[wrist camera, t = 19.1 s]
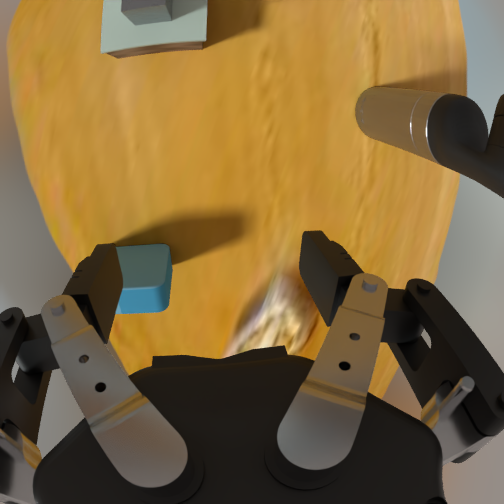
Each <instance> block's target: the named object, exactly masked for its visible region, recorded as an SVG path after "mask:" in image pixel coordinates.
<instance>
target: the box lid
mask: <svg viewBox="0 0 504 504" xmlns="http://www.w3.org/2000/svg"><path fill="white" fill-rule="evenodd" d="M207 1H208V0H173V5H172V21H167V22H159V23H151V24H144V25H137V26H135V25H134V24H133V23H132V22H131V21H130V20H129V19H128V18H127V17H126V16H125V15H124V14H123V13H122V12H121V3H122V0H104V4H103V16H102V31H101V53H102V54H104V53H108V52H113V51H119V50H124V49H130V48H137V47H144V46H151V45H160V44H170V43H182V42H199V41H206V27H207Z"/></svg>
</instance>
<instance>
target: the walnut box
mask: <svg viewBox="0 0 504 504" xmlns="http://www.w3.org/2000/svg"><path fill="white" fill-rule="evenodd" d="M202 46H203V41H199V42H182V43H170V44H160V45H151V46H144V47H137V48H130V49H124V50H119V51H113V52H108V53H107V54H109V55H111V56H114V57H116V58H124V57H130V56H137V55H144V54H151V53H160V52H170V51H183V50H200V49H202Z"/></svg>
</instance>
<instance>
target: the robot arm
mask: <svg viewBox="0 0 504 504" xmlns="http://www.w3.org/2000/svg"><path fill="white" fill-rule="evenodd" d="M356 119H357V123H358V125H359V127H360V129H361V130H362V131H363V132H364V133H365V134H366V135H367V136H368V137H370V138H373V139H375V140H378V141H381V142H384V143H386V144H389V145H392V146H395V147H397V148H400V149H403V150H405V151H408V152H411V153H413V154H416V155H418V156H421V157H423V158H425V159H428V160H430V161H433V162H435V163H437V164H440V165H442V166H444V167H447V168H449V169H451V170H454V171H456V172H458V173H460V174H463V175H465V176H467V177H469V178H471V179H473V180H475V181H477V182H478V183H480V184H482V185H483V186H485V187H487V188H488V189H490V190H491V191H493V192H495V193H496V194H498V195H499V196H501V197H502V198H504V94H503V95H502V96H501V97H500V99H499V101H498V104H497V107H496V110H495V114H494V119H493V123H492V127H491V130H490V134H489V138H488V128H487V123H486V120H485V117H484V114H483V112H482V111H481V109H480V108H479V106H478V105H477V104H476V103H475V102H474V101H473V100H471V99H469V98H467V97H465V96H461V95H455V94H448V93H442V92H433V91H425V90H415V89H404V88H391V87H372V88H369V89H367V90H365V91H364V92H363V93H362V94H361V95H360V97H359V99H358V101H357V104H356ZM299 270H300V275H301V277H302V279H303V281H304V283H305V285H306V287H307V289H308V291H309V292H310V294H311V296H312V298H313V300H314V302H315V304H316V306H317V308H318V310H319V312H320V314H321V316H322V317H323V319H324V321H325V323H326V325H327V327H329V326H331V327H330V329H329V331H328V334H327V336H326V338H325V340H324V342H323V345H322V347H321V349H320V351H319V353H318V355H317V358H316V360H315V361H314V360H311V359H308V358H305V357H301V356H295V355H288V354H287V351H286V348H285V345H283V346H276V347H268V348H260V349H252V350H249V351H246V352H243V353H239V354H236V355H233V356H230V357H226V358H223V359H212V358H204V357H196V356H189V355H173V356H153V360H152V366H150V367H147V368H144V369H141V370H139V371H137V372H135V373H133V374H131V375H129V376H127V375H126V374H125V372H124V371H123V370H122V368H121V367H120V366H119V364H118V363H117V361H116V360H115V359H114V357H113V356H112V354H111V353H110V352H109V350H108V349H107V347H106V346H105V344H107V343H108V339H109V335H110V331H111V327H112V324H113V320H114V317H115V313H116V310H117V306H118V303H119V299H120V296H121V293H122V289H123V275H122V271H121V267H120V263H119V259H118V254H117V250H116V246H115V244H114V243H110V244H98V245H96V247H95V249H94V250H93V252H92V254H91V256H89V257H86V258H85V259H84V260H82V261H81V262H80V263H79V264H78V266H77V268H76V270H75V272H74V273H73V275H72V278H71V279H70V281H69V282H68V284H67V286H66V288H65V290H64V292H63V294H62V295H59V296H56V297H53V298H52V299H50V300H48V301H47V302H46V303H45V304H44V305H43V307H42V309H41V314H38V315H34V316H30V317H25V316H24V314H23V311H22V310H21V309H20V308H17V307H13V308H9V309H7V310H5V311H3V312H2V313H1V314H0V502H3V503H5V504H447V502H446V500H445V497H444V491H443V482H442V466H443V465H445V464H447V463H449V462H453V463H461V462H464V461H465V460H467V459H468V458H470V457H471V456H472V455H473V454H475V453H476V452H477V451H479V450H480V449H481V448H482V447H483V446H485V445H486V444H487V443H488V442H489V441H491V440H492V439H493V438H494V437H495V436H496V435H498V434H499V433H500V432H501V431H502V430H503V429H504V373H503V372H502V370H501V369H500V367H499V366H498V364H497V363H496V362H495V361H494V359H493V357H492V356H491V355H490V353H489V352H488V351H487V349H486V348H485V347H484V345H483V344H482V343H481V341H480V340H479V339H478V337H477V336H476V335H475V333H474V332H473V331H472V329H471V328H470V327H469V326H468V324H467V323H466V322H465V321H464V319H463V318H462V317H461V316H460V315H459V313H458V312H457V311H456V310H455V309H454V308H453V306H452V305H451V304H450V303H449V302H448V300H447V299H446V298H445V297H444V296H443V295H442V293H441V292H440V291H439V290H438V289H437V288H436V287H435V286H434V285H433V284H432V283H430V282H428V281H426V280H423V279H418V278H415V279H411V280H409V281H408V282H407V285H406V288H405V290H403V289H392V288H388V285H387V283H386V282H385V281H384V280H383V279H382V278H380V277H378V276H376V275H373V274H368V273H364V272H363V271H362V269H361V268H360V267H359V266H358V265H357V263H356V262H355V261H354V260H353V259H352V257H351V256H350V255H349V254H347V251H346V250H345V249H344V248H343V247H342V246H341V245H339V244H338V243H336V242H334V241H330V240H329V239H328V238H327V236H326V235H325V234H324V233H323V232H322V231H321V230H319V231H304V232H303V235H302V243H301V252H300V261H299ZM423 329H425V330H426V332H427V333H428V334H429V336H430V338H431V349H430V348H429V347H428V345H427V343H426V342H425V340H424V339H423V337H422V336H421V334H422V332H423ZM380 342H386V343H388V345H389V347H390V349H391V350H392V352H393V354H394V356H395V358H396V359H397V361H398V363H399V365H400V367H401V368H402V370H403V372H404V374H405V376H406V378H407V380H408V382H409V383H410V385H411V387H412V389H413V391H414V393H415V395H416V397H417V399H418V401H419V403H420V405H421V407H422V412H421V421H420V420H418V419H416V418H414V417H412V416H410V415H409V414H407V413H405V412H403V411H401V410H399V409H398V408H396V407H394V406H392V405H390V404H388V403H387V402H385V401H383V400H381V399H380V398H378V397H376V396H374V395H373V394H371V393H369V392H368V389H369V385H370V382H371V378H372V374H373V370H374V367H375V363H376V358H377V354H378V350H379V346H380ZM15 361H16V362H17V364H18V365H19V369H18V372H17V375H16V378H15V381H14V383H13V380H12V377H11V376H12V375H11V373H12V368H13V365H14V363H15ZM59 368H60V369H61V371H62V373H63V375H64V378H65V380H66V382H67V384H68V386H69V388H70V390H71V392H72V394H73V396H74V398H75V400H76V402H77V403H78V405H79V407H80V409H81V411H82V413H83V414H84V416H85V418H84V419H83V420H82V421H81V422H80V423H79V424H78V425H77V426H76V427H75V428H74V429H72V430H71V431H70V432H69V433H68V434H67V435H66V436H65V437H64V438H63V439H62V440H61V441H60V442H59V443H58V444H57V445H56V446H55V447H54V448H53V449H52V450H51V451H50V452H49V453H48V454H47V455H46V456H45V457H44V458H43V459H42V457H41V453H40V450H39V448H38V447H37V446H36V445H37V439H38V432H39V427H40V421H41V416H42V411H43V406H44V401H45V397H46V393H47V388H48V385H49V381H50V377H51V373H52V370H54V369H59Z"/></svg>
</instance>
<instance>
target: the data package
mask: <svg viewBox="0 0 504 504" xmlns="http://www.w3.org/2000/svg"><path fill="white" fill-rule="evenodd" d="M116 250H117V254H118V259H119V263H120V267H121V271H122V275H123V289H122V293H121V296H120V299H119V303H118V306H117V310H116V313H115V314H130V313H154V312H161V311H164V310H165V309H166V308H167V307H168V306H169V299H170V289H171V279H172V262H171V255H170V248H169V246H168V245H166V244H149V245H135V246H122V247H116Z"/></svg>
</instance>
